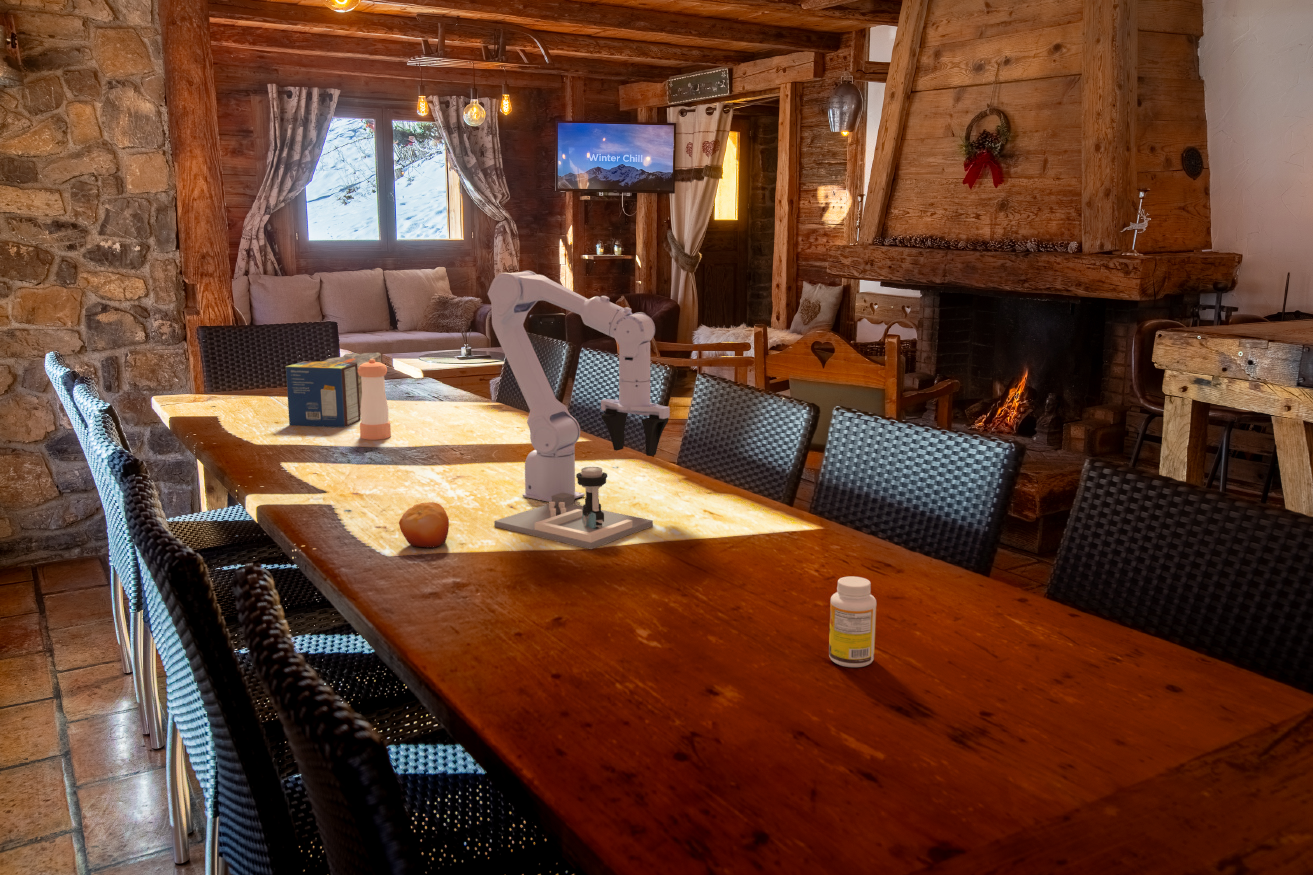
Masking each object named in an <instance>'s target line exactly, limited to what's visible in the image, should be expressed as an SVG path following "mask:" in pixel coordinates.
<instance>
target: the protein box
mask: <svg viewBox="0 0 1313 875" xmlns="http://www.w3.org/2000/svg"><path fill="white" fill-rule="evenodd" d="M285 376H286V390H287V407H288V408H287V409H288V423H289V424H288V425H289V426H296V427H298V426H299V427H320V428H321V427H326V428H346V427H348V426H350V425H352V424H354V423H356V422H359V421H361V411H360V409H361V408H360V400H359V384H358V366H357V362H322V361H310V360H309V361H306V360H305V361H304V360H303V361H300V362H297V363H293V364H290V365H286V366H285Z"/></svg>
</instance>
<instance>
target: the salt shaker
mask: <svg viewBox="0 0 1313 875" xmlns="http://www.w3.org/2000/svg"><path fill="white" fill-rule="evenodd" d="M387 373H388V368H387V365H386V364H385V363H380V362H375V360H374V359H370V360H369V362H367V363H363V364H361V365H360V366H359V368H358V374H359V376H362V377H361V381H362V399H361V408H360V416H361V420H360V423H359V434H360V439H362V440H369V441H370V440H371V441H374V440H384V439H389V438H390V437H392V431H391V429H392V428H391V421H389V420H390V419H389V404H388V400H387V395H386V385H385V384H386V382H385V376H386V375H387Z"/></svg>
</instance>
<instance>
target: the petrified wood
mask: <svg viewBox="0 0 1313 875" xmlns="http://www.w3.org/2000/svg"><path fill="white" fill-rule="evenodd" d="M370 359H374V360H375V362H380V363H382V354H381V353H380V352H365V353H364V352H361V353H356V352H355V353H354V352H353V353H345V354H344V355H343V356H339V357H329V358H327V359H324V360H323V361H321V362H357V366H358V368H359V366H360V365H361V364H363V363H367V362H369V360H370ZM382 364H383V363H382ZM361 377H362V376H359V374H358V384H359V400H360V409H361V399H362V381H361Z"/></svg>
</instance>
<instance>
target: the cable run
mask: <svg viewBox="0 0 1313 875" xmlns="http://www.w3.org/2000/svg"><path fill="white" fill-rule="evenodd" d="M575 500H576V499H574V495H572V494H567V493H559V494H556V495H553V496H552V502H548V504H549V510H551V517H554V516H557V515H560V514H563V513H566V508H565V506H568V505H571V504H575V503H576V502H575ZM560 511H561V512H560Z"/></svg>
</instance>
